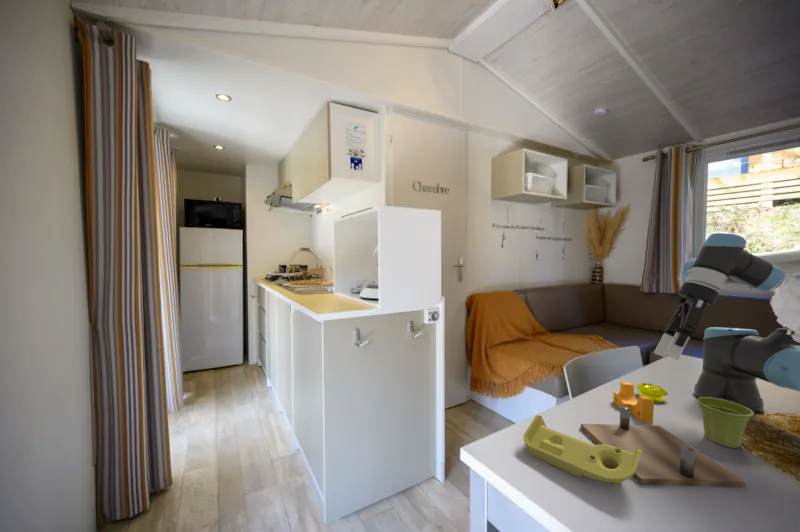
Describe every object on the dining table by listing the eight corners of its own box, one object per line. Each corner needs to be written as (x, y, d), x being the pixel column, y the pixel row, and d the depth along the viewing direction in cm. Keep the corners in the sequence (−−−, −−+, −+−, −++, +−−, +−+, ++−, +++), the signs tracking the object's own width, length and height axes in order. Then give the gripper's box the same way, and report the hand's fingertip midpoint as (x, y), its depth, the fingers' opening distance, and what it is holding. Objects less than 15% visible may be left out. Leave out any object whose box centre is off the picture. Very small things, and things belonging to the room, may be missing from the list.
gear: (631, 396, 101) (662, 405, 94) (632, 384, 101) (663, 393, 94) (640, 390, 105) (671, 399, 99) (641, 379, 105) (671, 387, 99)
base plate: (659, 430, 80) (659, 425, 80) (745, 487, 60) (746, 481, 60) (580, 428, 80) (580, 423, 80) (641, 484, 60) (641, 478, 60)
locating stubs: (625, 425, 79) (626, 406, 79) (696, 478, 60) (697, 452, 60) (617, 425, 79) (618, 406, 79) (686, 478, 60) (687, 452, 60)
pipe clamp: (613, 402, 96) (614, 381, 96) (629, 403, 95) (630, 382, 95) (634, 421, 84) (635, 398, 84) (652, 423, 83) (653, 399, 83)
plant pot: (762, 457, 70) (764, 418, 70) (708, 447, 73) (710, 410, 73) (735, 435, 79) (737, 400, 78) (688, 427, 82) (689, 394, 82)
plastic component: (519, 441, 69) (539, 409, 75) (528, 467, 71) (547, 434, 77) (629, 489, 53) (644, 443, 59) (637, 521, 55) (651, 473, 61)
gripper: (673, 287, 98) (641, 348, 99) (699, 272, 77) (658, 349, 78) (703, 298, 94) (669, 361, 95) (739, 286, 73) (696, 366, 74)
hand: (664, 356), depth 86 cm, fingers open, 13 cm apart
